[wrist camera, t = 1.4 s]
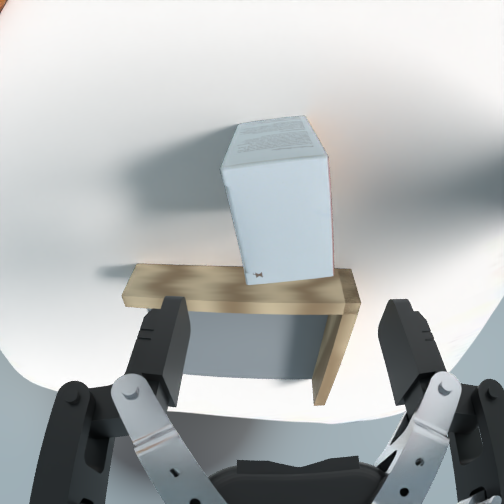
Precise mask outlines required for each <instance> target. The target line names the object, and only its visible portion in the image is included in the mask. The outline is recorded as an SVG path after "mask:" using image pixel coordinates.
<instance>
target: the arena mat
mask: <svg viewBox="0 0 504 504" xmlns="http://www.w3.org/2000/svg"><path fill="white" fill-rule="evenodd" d="M148 309H149V308H148ZM150 310H151V309H149V311H150ZM188 314H189V319H190V325H191V332H190V340H189V344H188V349H187V354H186V359H185V364H184V369H183V374H189V375H201V376H215V377H232V378H257V379H312V376H313V373H314V369H315V365H316V362H317V358H318V354H319V350H320V346H321V342H322V338H323V334H324V330H325V326H326V322H327V318H328V315H286V314H242V313H216V312H196V311H188Z"/></svg>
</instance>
